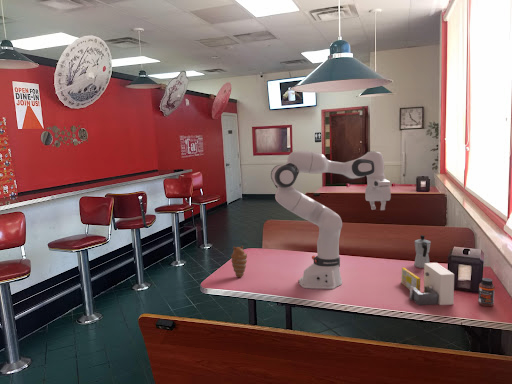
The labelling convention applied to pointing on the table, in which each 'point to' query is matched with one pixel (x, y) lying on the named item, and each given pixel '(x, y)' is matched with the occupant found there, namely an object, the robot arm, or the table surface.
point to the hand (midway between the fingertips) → (378, 209)
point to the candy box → (410, 279)
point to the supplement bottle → (486, 292)
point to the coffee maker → (422, 252)
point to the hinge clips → (424, 296)
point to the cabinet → (440, 282)
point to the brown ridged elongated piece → (239, 261)
